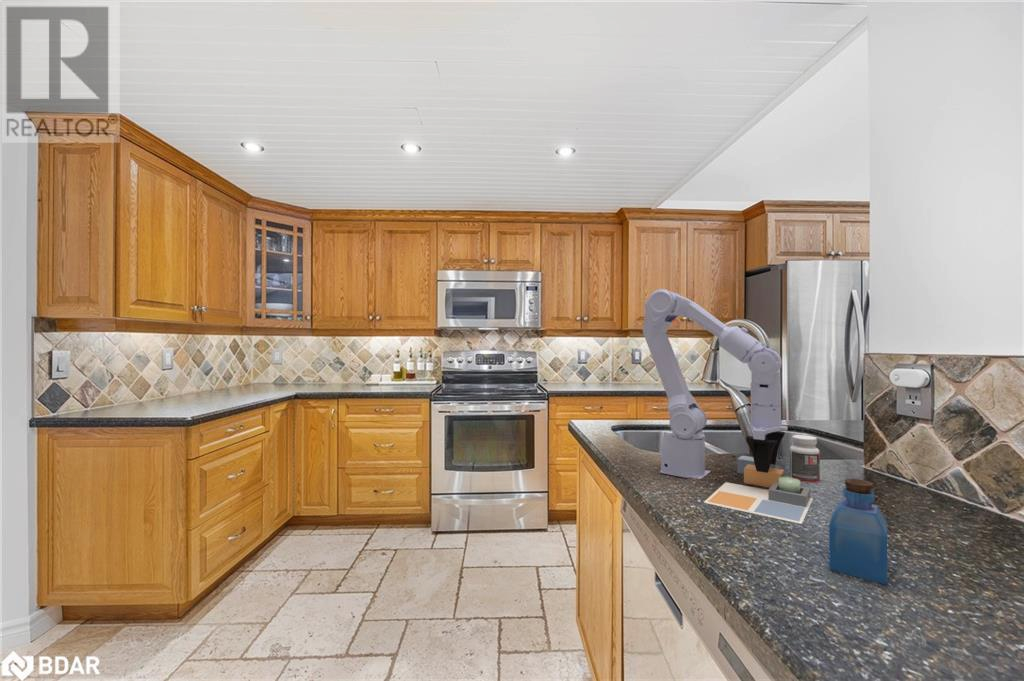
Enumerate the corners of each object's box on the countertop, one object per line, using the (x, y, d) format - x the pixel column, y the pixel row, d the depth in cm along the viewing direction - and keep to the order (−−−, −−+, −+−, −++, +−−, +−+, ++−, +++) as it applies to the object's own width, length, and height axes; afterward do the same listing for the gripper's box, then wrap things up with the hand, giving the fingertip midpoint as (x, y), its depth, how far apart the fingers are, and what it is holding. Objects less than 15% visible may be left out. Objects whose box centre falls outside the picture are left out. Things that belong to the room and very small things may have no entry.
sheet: (703, 505, 87) (703, 502, 87) (725, 484, 99) (725, 482, 99) (801, 527, 77) (801, 523, 77) (813, 501, 89) (813, 498, 89)
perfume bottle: (833, 553, 68) (833, 472, 68) (887, 566, 64) (887, 481, 64) (829, 569, 63) (829, 483, 63) (887, 584, 59) (887, 492, 59)
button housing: (768, 500, 88) (768, 489, 88) (774, 491, 93) (774, 481, 93) (806, 507, 84) (806, 496, 84) (810, 498, 89) (810, 488, 89)
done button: (777, 490, 89) (777, 480, 89) (780, 485, 91) (780, 475, 91) (799, 494, 86) (799, 483, 86) (801, 489, 89) (801, 479, 89)
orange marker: (743, 486, 99) (744, 468, 99) (748, 481, 102) (748, 464, 102) (789, 494, 94) (789, 475, 94) (792, 489, 97) (792, 471, 97)
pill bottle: (825, 485, 99) (826, 439, 99) (799, 485, 99) (799, 439, 99) (809, 477, 105) (809, 434, 105) (784, 477, 105) (784, 434, 105)
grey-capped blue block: (737, 475, 107) (737, 458, 107) (741, 472, 110) (741, 455, 110) (778, 483, 101) (778, 465, 101) (782, 479, 104) (782, 461, 104)
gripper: (781, 410, 90) (781, 479, 90) (792, 402, 101) (792, 463, 101) (742, 407, 94) (742, 472, 94) (757, 400, 106) (757, 458, 106)
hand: (766, 467), depth 98 cm, fingers open, 7 cm apart
